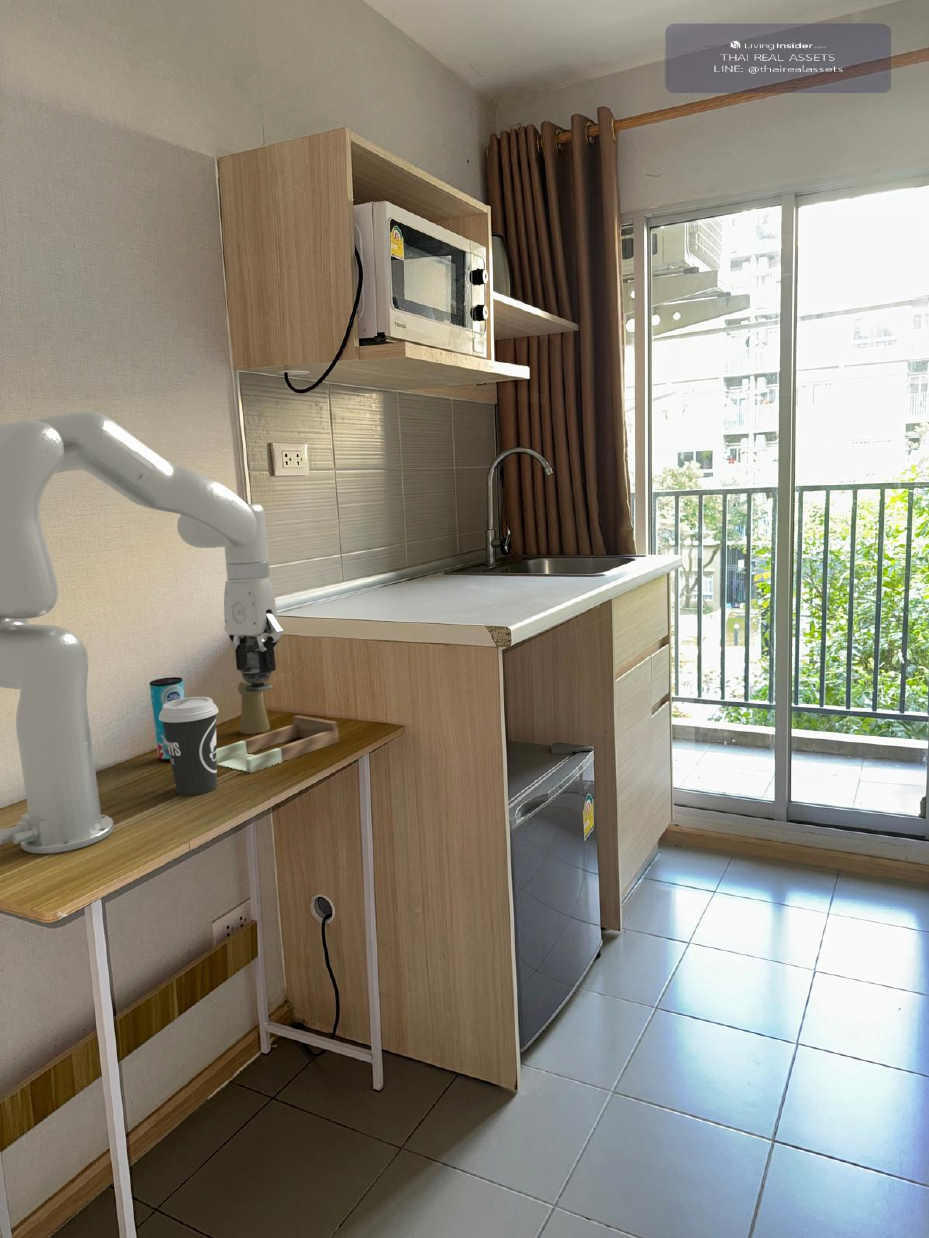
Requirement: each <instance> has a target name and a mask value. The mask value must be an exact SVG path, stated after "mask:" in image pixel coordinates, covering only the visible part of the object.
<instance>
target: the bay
mask: <svg viewBox="0 0 929 1238" xmlns="http://www.w3.org/2000/svg"><path fill="white" fill-rule="evenodd" d="M338 727H339V726H338V721H334V720H328V719H321V718H317V717H316V718H315V717H310V716H305V715H298V714H297V715H294V716H293V723H292V724H290V725H287V726H284V727H280V728H278V729H274V730H271V731H269V732H268V731H267V732H264V733H260V734H257V735H256V736H253V737H250V738H245V739H243V740H240V741H236V742H234V743H230V744H227V745H225V746H222V747H219V748H218V747H217V748H216V753H217V766H219V767H222V768H227V767H229V768H228V769H231V768H232V770H235V769H236V771H240V770H243V771H242V772H244V771H246V772H245V773H248V772H249V774H253V773H252V772H254V773H256V772H258V771H257V770H259V771H262V770H265V769H267V768H270V767H273V766H275V764H276V765H278V764H277V763H279V764H281V763H284V762H286V761H285V760H287V761H289V760H293V759H295V758H298V757H300V756H303V755H306V754H309V753H312V752H315V751H317V750H320V749H322V748H326V747H328V746H331V745H334V744H336V743H339V742H340V741H339V728H338ZM297 738H302V739H299V740H296V741H293V742H291V743H287V744H284V745H281V746H279V747H276V748H273V749H269V750H267V751H264V752H261V753H258V754H253V753H255V752H258V751H260V750H259V749H261V750H263V749H266V748H269V746H270V747H274V746H276V745H279V744H281V743H285V742H288V741H290V740H293V739H297ZM278 743H279V744H278ZM257 750H258V751H257ZM248 753H250V754H248ZM283 761H284V762H283ZM272 765H273V766H272ZM266 767H267V768H266ZM264 768H265V769H264ZM255 771H256V772H255Z"/></svg>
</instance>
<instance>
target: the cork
mask: <svg viewBox="0 0 929 1238" xmlns="http://www.w3.org/2000/svg"><path fill="white" fill-rule="evenodd" d="M248 685H251V684H250V683H247V682H246V681H245V680H244V679H242V680H240V681H239V683H238V687H237V688H238V692H239V695H240V696H241V707H240V709H241V713H240V733H241V732H242V733H246V734H253V735H256V734H255V733H260V732H264V733H267V732H268V730H269V729H270V730H271V726H270V722H269V719H268V713H267V710H266V705H265V701H264V695H263V692H264V691H265V690H263V691H254V692H249V691H244V690H243V689H244V688H245V687H246V686H248ZM270 730H269V731H270ZM266 731H267V732H266ZM242 733H241V734H242ZM246 734H245V735H246ZM260 734H261V733H260Z"/></svg>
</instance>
